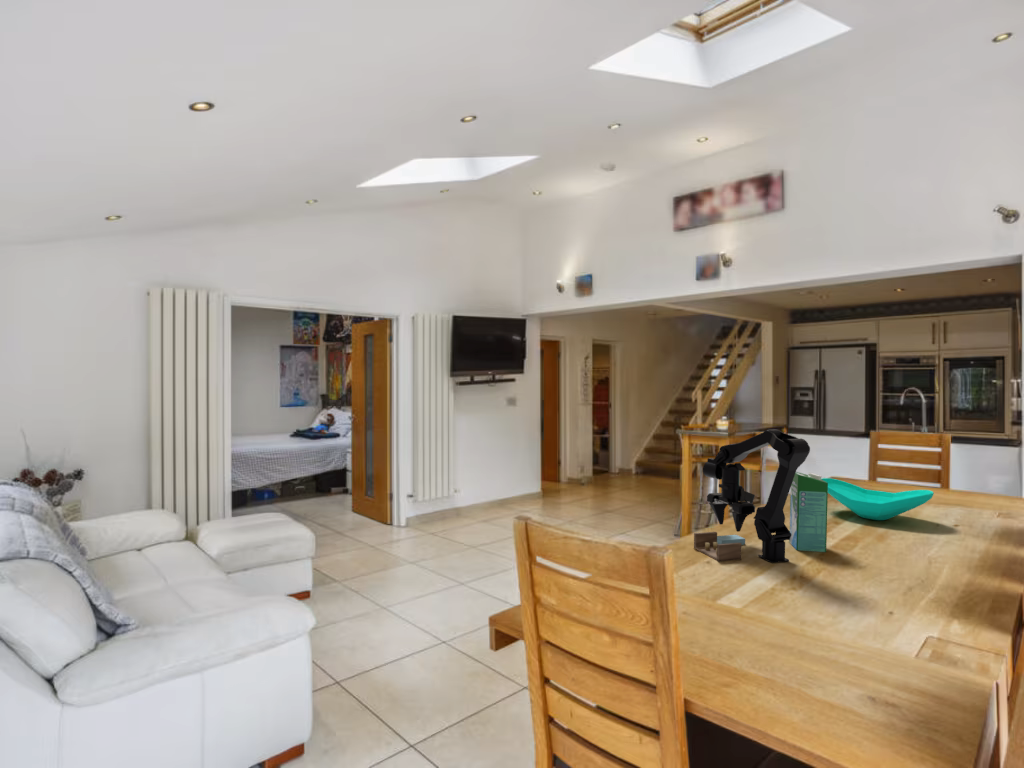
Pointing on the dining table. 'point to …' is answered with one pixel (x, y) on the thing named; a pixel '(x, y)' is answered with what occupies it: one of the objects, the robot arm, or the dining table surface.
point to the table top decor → (875, 500)
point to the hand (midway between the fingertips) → (729, 527)
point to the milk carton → (808, 512)
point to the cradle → (716, 547)
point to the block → (730, 539)
